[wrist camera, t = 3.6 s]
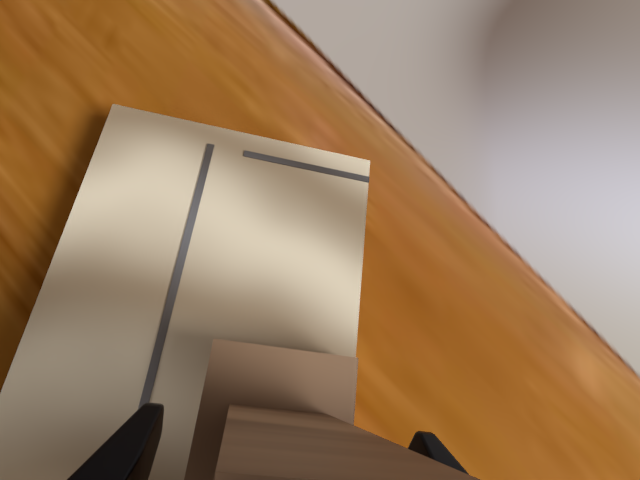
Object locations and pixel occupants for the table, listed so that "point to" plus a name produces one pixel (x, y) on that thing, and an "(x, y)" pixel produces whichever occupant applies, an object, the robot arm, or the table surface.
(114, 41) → the table surface
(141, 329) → the birch board
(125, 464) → the robot arm
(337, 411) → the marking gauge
